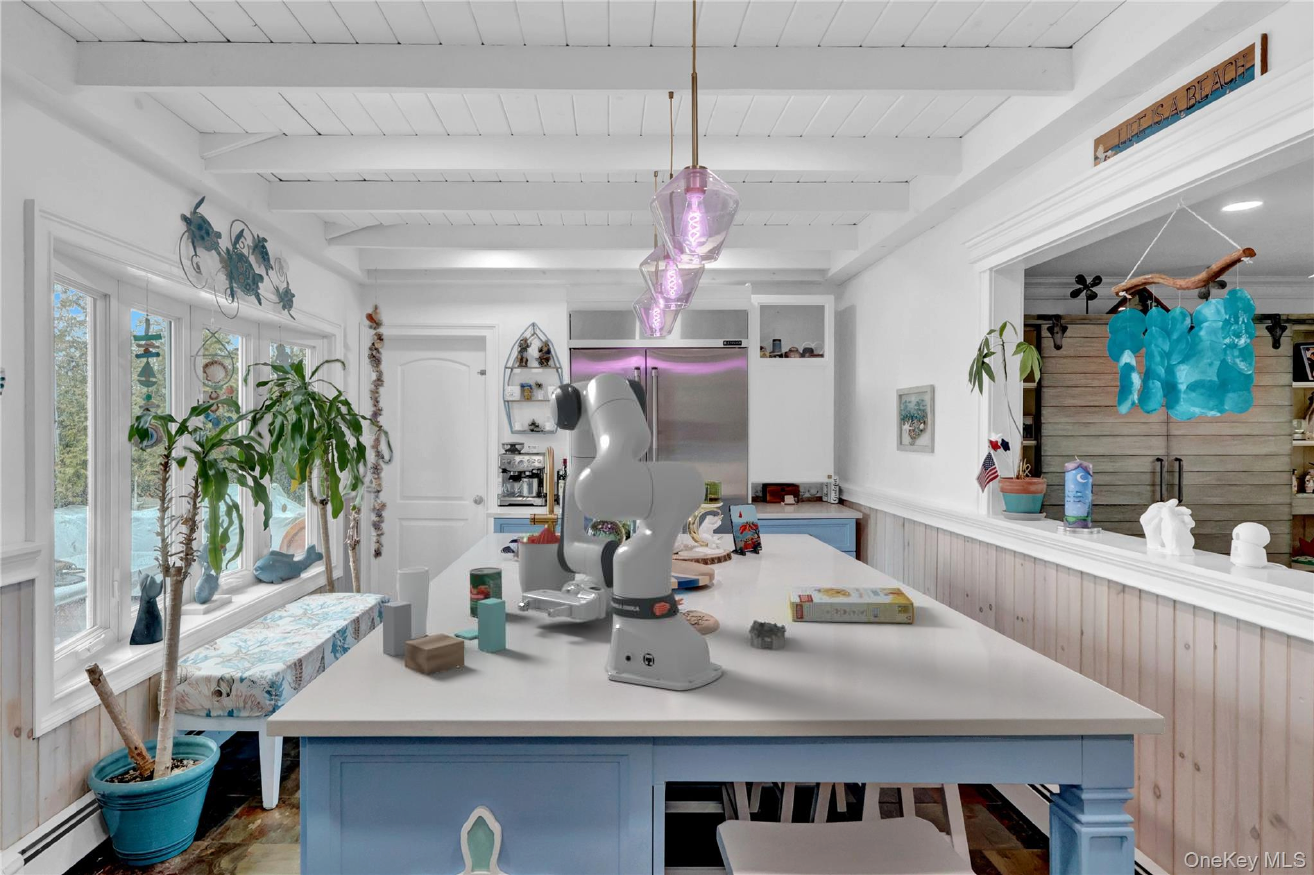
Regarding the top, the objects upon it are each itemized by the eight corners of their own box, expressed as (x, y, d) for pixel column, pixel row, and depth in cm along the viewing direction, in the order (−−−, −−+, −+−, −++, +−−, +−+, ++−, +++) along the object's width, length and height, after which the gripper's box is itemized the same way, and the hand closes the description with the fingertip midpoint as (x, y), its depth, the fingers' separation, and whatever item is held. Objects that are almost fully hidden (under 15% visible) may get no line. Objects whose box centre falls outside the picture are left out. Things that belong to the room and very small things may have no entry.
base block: (464, 666, 142) (464, 640, 142) (427, 676, 136) (426, 649, 136) (441, 658, 148) (441, 633, 148) (404, 667, 142) (404, 641, 142)
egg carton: (783, 652, 150) (783, 631, 150) (746, 649, 152) (746, 629, 152) (788, 637, 160) (788, 619, 160) (753, 635, 162) (753, 617, 162)
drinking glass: (403, 642, 158) (402, 573, 158) (393, 636, 163) (393, 568, 163) (434, 637, 162) (433, 569, 162) (423, 631, 167) (423, 565, 167)
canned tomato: (506, 610, 187) (506, 567, 187) (496, 618, 179) (496, 573, 179) (476, 610, 188) (475, 567, 188) (465, 617, 180) (464, 572, 180)
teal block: (505, 648, 153) (505, 600, 153) (490, 652, 150) (490, 603, 150) (493, 645, 156) (492, 597, 156) (478, 649, 153) (477, 601, 153)
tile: (487, 634, 164) (486, 632, 164) (468, 639, 160) (468, 637, 160) (472, 631, 167) (472, 628, 167) (454, 636, 163) (454, 633, 163)
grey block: (411, 651, 152) (411, 603, 152) (394, 656, 148) (393, 606, 148) (400, 648, 154) (399, 600, 154) (383, 652, 151) (382, 604, 151)
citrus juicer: (529, 594, 206) (528, 522, 206) (586, 597, 201) (585, 524, 201) (500, 606, 192) (500, 529, 192) (561, 610, 186) (560, 531, 186)
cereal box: (915, 601, 169) (791, 599, 173) (915, 626, 169) (791, 622, 173) (898, 585, 190) (787, 583, 193) (898, 607, 189) (787, 604, 193)
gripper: (547, 580, 180) (503, 590, 169) (610, 591, 167) (567, 602, 156) (547, 606, 180) (503, 618, 169) (610, 618, 167) (567, 632, 156)
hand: (534, 610), depth 163 cm, fingers open, 8 cm apart
